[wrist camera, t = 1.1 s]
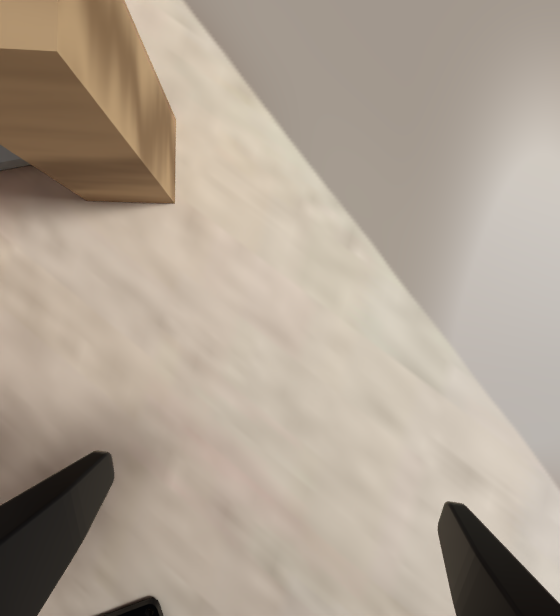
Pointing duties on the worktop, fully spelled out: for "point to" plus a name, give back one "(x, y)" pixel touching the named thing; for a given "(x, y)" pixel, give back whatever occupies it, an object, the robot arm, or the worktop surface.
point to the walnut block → (85, 100)
